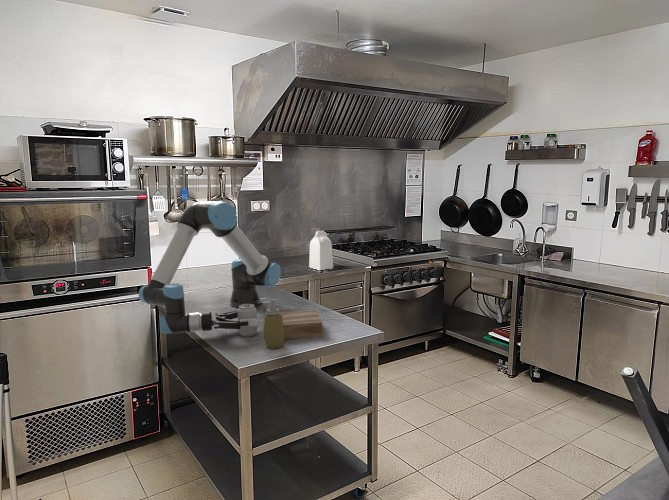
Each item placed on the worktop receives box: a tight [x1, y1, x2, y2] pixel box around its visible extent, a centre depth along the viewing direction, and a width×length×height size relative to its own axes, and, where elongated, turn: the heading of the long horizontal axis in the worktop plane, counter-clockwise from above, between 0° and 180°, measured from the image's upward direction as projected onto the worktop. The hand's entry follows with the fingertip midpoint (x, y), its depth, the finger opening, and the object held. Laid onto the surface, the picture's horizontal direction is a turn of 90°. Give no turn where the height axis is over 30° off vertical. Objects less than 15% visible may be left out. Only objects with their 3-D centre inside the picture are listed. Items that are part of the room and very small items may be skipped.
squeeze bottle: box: [262, 299, 285, 349], centre depth 178 cm, size 8×8×18 cm
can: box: [237, 304, 258, 337], centre depth 194 cm, size 8×8×12 cm
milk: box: [308, 230, 334, 271], centre depth 324 cm, size 12×12×26 cm
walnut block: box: [279, 309, 324, 341], centre depth 196 cm, size 18×18×6 cm
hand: (256, 317), depth 194 cm, fingers open, 12 cm apart
